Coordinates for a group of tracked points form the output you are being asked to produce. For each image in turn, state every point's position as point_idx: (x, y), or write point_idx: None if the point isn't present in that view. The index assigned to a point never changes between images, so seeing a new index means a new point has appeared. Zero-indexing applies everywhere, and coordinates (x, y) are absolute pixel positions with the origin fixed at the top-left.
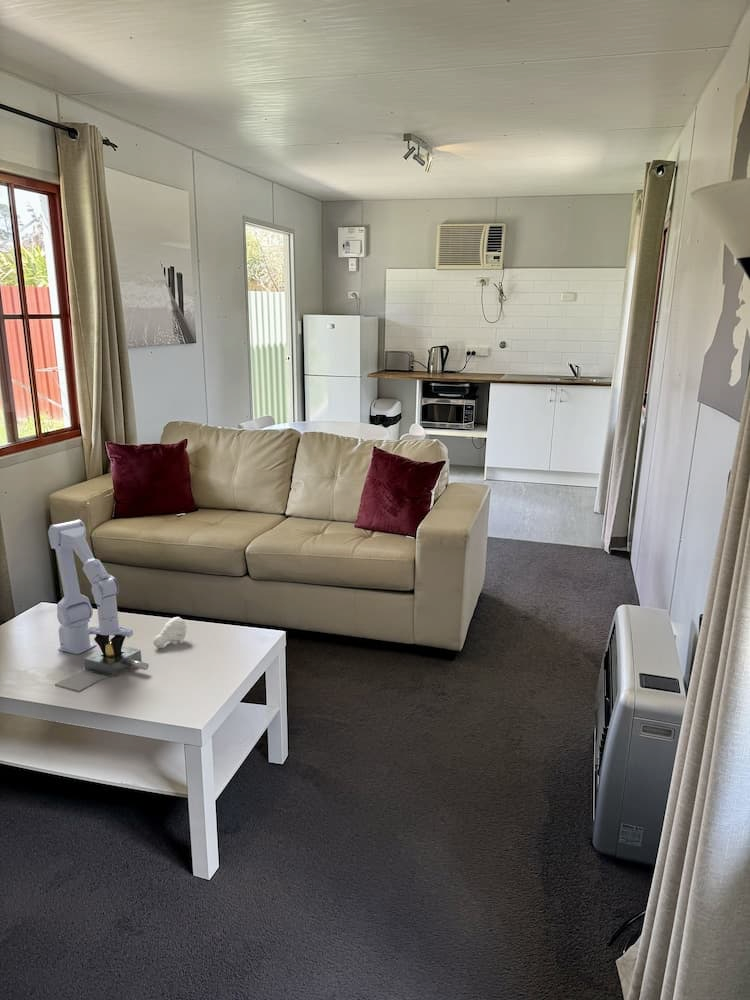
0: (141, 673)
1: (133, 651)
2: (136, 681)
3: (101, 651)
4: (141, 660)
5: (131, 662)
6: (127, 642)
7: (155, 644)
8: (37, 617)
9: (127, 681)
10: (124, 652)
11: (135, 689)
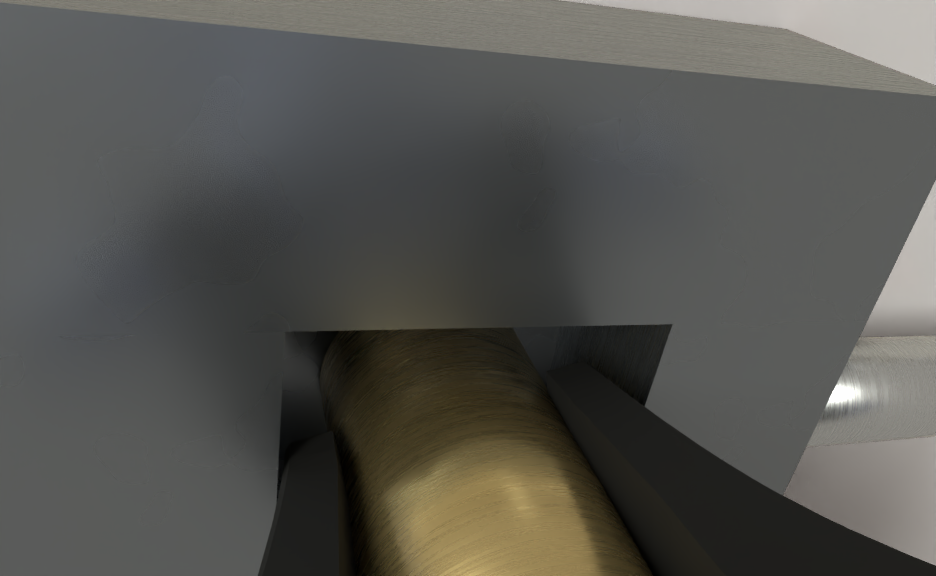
0: (900, 327)
1: (842, 220)
2: (898, 465)
3: (99, 509)
4: (797, 33)
5: (878, 440)
6: None
7: None
8: None
9: (809, 503)
10: (671, 329)
11: (931, 550)
